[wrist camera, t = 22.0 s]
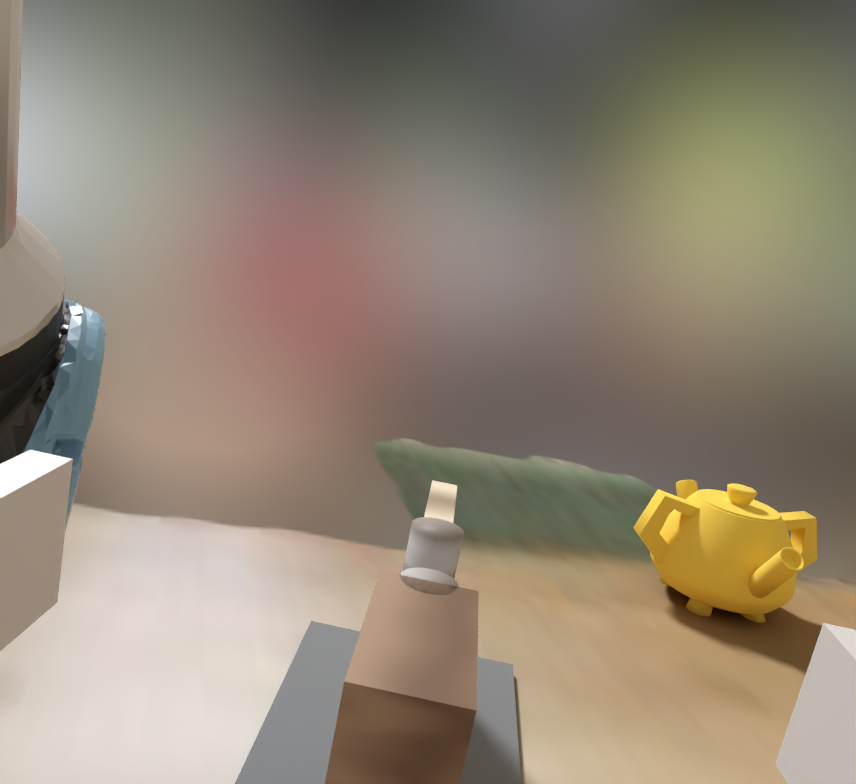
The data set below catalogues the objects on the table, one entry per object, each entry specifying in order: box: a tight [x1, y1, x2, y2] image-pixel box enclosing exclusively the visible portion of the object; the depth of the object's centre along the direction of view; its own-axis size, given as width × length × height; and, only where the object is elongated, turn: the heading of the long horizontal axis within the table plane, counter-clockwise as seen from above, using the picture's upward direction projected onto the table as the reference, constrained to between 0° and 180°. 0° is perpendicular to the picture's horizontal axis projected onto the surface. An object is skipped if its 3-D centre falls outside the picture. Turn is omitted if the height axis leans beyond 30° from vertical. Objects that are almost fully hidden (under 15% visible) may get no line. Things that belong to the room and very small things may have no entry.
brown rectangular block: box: [325, 568, 478, 784], centre depth 31 cm, size 4×10×12 cm, turn 176°
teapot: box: [634, 480, 817, 623], centre depth 71 cm, size 20×18×11 cm
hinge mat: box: [235, 621, 521, 784], centre depth 39 cm, size 28×14×1 cm, turn 176°
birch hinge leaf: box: [402, 480, 464, 579], centre depth 44 cm, size 12×3×13 cm, turn 176°
